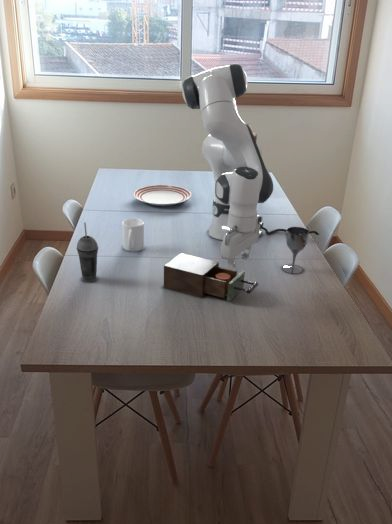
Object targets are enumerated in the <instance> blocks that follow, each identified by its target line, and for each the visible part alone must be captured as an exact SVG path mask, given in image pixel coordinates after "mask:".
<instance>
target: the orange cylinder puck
mask: <svg viewBox="0 0 392 524" xmlns="http://www.w3.org/2000/svg"><path fill="white" fill-rule="evenodd" d="M215 279H219V280H223V281H226V290H225V291H227V290H228V283H229V282H230V275H229V274H226V273H218V274H216V275H215Z"/></svg>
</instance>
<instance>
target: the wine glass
mask: <svg viewBox="0 0 392 524" xmlns="http://www.w3.org/2000/svg"><path fill="white" fill-rule="evenodd" d="M286 230H287V232H285V233H286V236H285V240H286V247H288V248H287V249H289V250H290V252H291V253H292V262H291V264H290V265H289V264H287V265H284V266H283V267H282V270H283V271H284V272H286V273H288V274H300V273H302V272H303V269H302V267H300V266H298V265H295V262H296V259H297V256H298V254H299V253H300V252H301V251H303V250H304V248H306V246H307V243H308V240H309V235H310V234H309V231H310V230H309V229H307V228H305V227H301V226H290V227H288V228H287V229H286Z"/></svg>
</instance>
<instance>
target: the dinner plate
mask: <svg viewBox="0 0 392 524" xmlns="http://www.w3.org/2000/svg"><path fill="white" fill-rule="evenodd" d="M133 197H134V198H135V199H136V200H138V201H140V202H142V203H145V204H148V205H151V206H157V207H171V206H174V205H175V206H176V205H179V204H183V203H184V202H187V201H188V200H190V199H191V198H192V192H191V191H190V190H189V189H187V188H184V187H182V186H177V185H172V184H151V185H146V186H142V187H139V188H137V189H136V190H135V191H134V192H133Z"/></svg>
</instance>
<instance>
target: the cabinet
mask: <svg viewBox="0 0 392 524" xmlns="http://www.w3.org/2000/svg"><path fill="white" fill-rule="evenodd" d="M216 266H218V267H220V261H217V260H212V259H208V258H204V257H201V256H195V255H191V254H188V253H182V252H181V253H179V254H178V255H176V256H174V258H172V259H171V260H169V261H168V262H167V263H166V264H164V265H163V288H164V289H168V290H172V291H176V292H180V293H183V294H187V295H191V296H195V297H198V298H203V297H205V295H207V294H206V293H203V286H204V276H206V275H207V274H208V273H209V272H210V271H211V270H213V269H214V268H215V267H216Z"/></svg>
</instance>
